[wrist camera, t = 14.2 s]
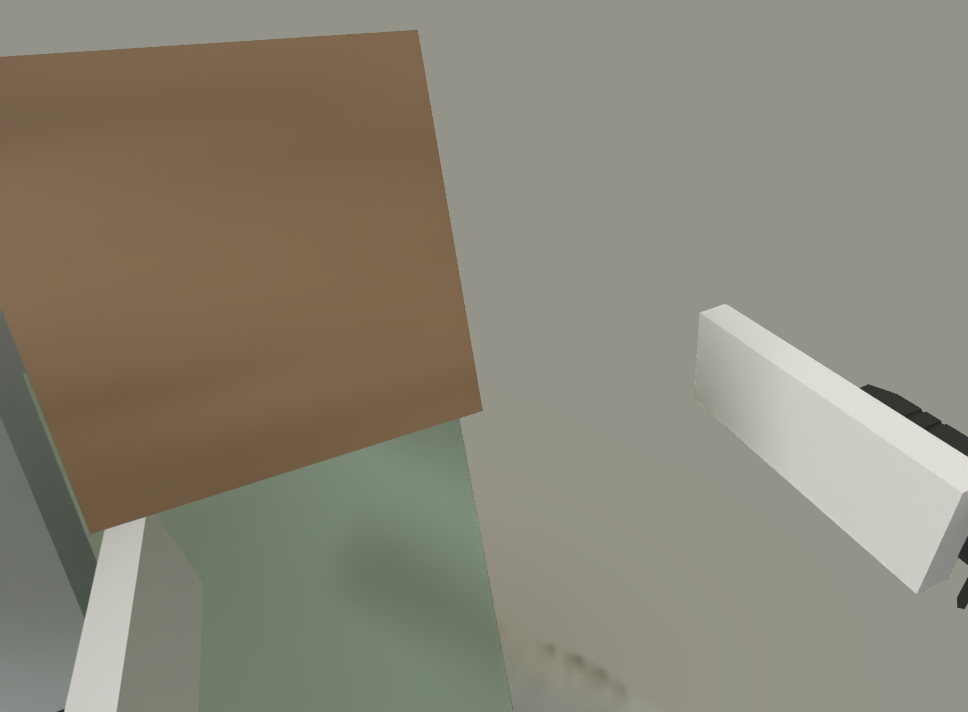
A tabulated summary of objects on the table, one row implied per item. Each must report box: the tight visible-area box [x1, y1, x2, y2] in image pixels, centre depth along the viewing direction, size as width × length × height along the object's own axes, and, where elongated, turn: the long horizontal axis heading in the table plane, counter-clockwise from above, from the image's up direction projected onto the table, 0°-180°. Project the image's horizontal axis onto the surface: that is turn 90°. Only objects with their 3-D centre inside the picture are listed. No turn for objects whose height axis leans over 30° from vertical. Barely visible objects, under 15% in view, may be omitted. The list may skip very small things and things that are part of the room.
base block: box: [23, 372, 513, 712], centre depth 25 cm, size 14×10×25 cm
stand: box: [0, 307, 97, 712], centre depth 29 cm, size 20×10×30 cm, turn 24°
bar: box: [0, 30, 482, 534], centre depth 21 cm, size 34×4×4 cm, turn 24°
